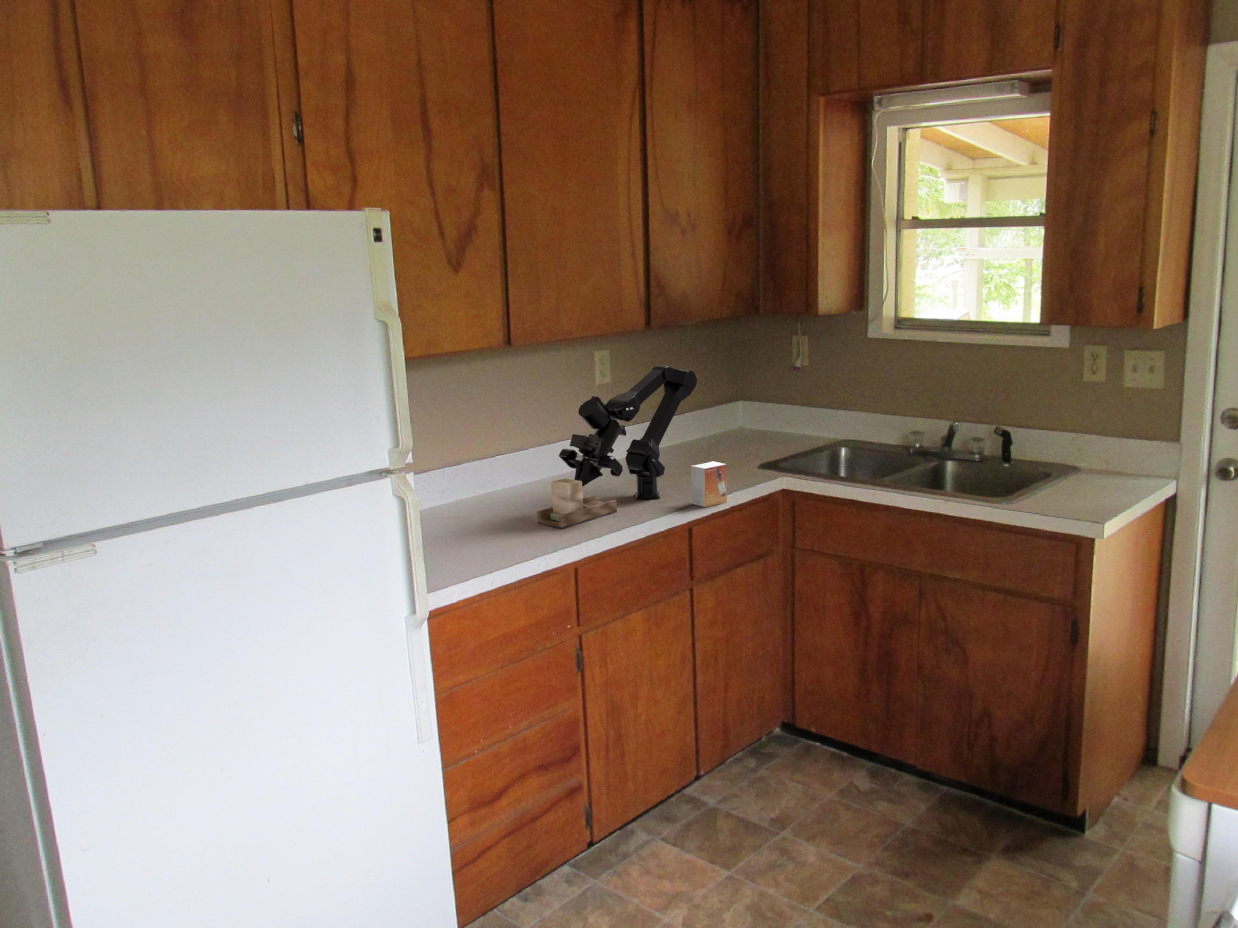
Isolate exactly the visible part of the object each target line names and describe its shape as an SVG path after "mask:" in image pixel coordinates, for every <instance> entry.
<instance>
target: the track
mask: <svg viewBox="0 0 1238 928" xmlns="http://www.w3.org/2000/svg"><path fill="white" fill-rule="evenodd" d="M617 505H618V504H617V499H613V500H608V501H600V500H596V495H589V496H585V497H583V509H581V510H577V511H574V512H571V513H567V514H564V515H562V514H557V513H553V506H550V507H546V508H543V509H540V510H537V512H536V515H537V524H539V525H543V526H547V525H548V527H552V528H556V529H560V530H564V529H567V528H571V527H573V526H576V525H580V524H583V523H587V522H590V521H593V520H596V519H599V518H603V517H606V516H609V515H612V514H615V513H617V512H618V509H617V508H618V507H617Z"/></svg>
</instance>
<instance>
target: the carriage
mask: <svg viewBox="0 0 1238 928" xmlns="http://www.w3.org/2000/svg"><path fill="white" fill-rule="evenodd" d="M550 483H551V484H550V485H551V488H550V489H551V500H552V507H553V513H557V514H562V515H564V514H567V513H571V512H574V511H577V510H581V509H583V498H584V497H583V494H584V493H583V487H582V481H578V480H574V479H573V478H572V479H571V478H568V477H565V478H562V479H557V480H554V481H551V482H550Z"/></svg>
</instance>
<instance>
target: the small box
mask: <svg viewBox="0 0 1238 928" xmlns="http://www.w3.org/2000/svg"><path fill="white" fill-rule="evenodd" d="M727 468H728V467H727V464H726V463H722V462H717V461H713V460H712V461H709V462H705V463H699V464H695V465H690V482H691V484H690V485H691V489H690V491H691V504H692V505H696V506H699V507H704V508H707V507H711V506H715V505H721V504H726V503H727V502H728V489H727V488H728V484H727V483H728V482H727V481H728V480H727V477H728V476H727Z"/></svg>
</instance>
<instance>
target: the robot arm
mask: <svg viewBox="0 0 1238 928" xmlns="http://www.w3.org/2000/svg"><path fill="white" fill-rule="evenodd" d="M697 385H698V378H697V376H696V373H695V372H694V371H693V370H687V369H675V368H673V367H670V366H669V365H656V366H653V367H652V369H651V371H650V372H648V373H647V374H646V375H645V376H644V377H643V378H642V379H640V380H639V381H638V382H637V383H636V384H635V385H633V386H632V387H631V388H630V389H629V390H627V391H626V392H622V393H619V394H616V395H615V396H613V397H611V398H610V399H609V400H608V401H607V403H605V404H604V402H603V400H602V399H601V398H600V397H599V396H596V395H592V396H591V398H590V399H587V400H586V401H584V402H583V403H582V404H581V405H580V406H579V408H578V415H579V416H580V417H581V419H582V420H584V422H585V423H586V424H587V425H588V426H589V427H590V428H591V429H593V430H595V431H594V433H589V434H588V435H582V434H578V433H576V434H575V433H572V434H571V439H570V442H569V446H570V448H562V449H561V450H560V452H559V454H558V457H559V458H560V460H561V461H563V462H564V463H565V464H566V466H568V467H569V468H571V469H575V472H574V473H575V474H574V479H573V480H578V481H582V488H584V487H585V486H586V485H588V484H590V483H591V482H592V481H594V480H596V479H598V478H599V477H603V476H604V473H603V471H604V470H605V469H610V473H609V474H610V475H611V476H612V477H620V476H621V475H622V473H623V470H624V469H623V465H622V463H620V461H619V460H617V458H616V457H615V456H613V455H609V454H613V453H614V450H615V449H614V448H613V446H614V445H615V443H616V441H617V439H618V437H619V436H622V437H623V436H627V430H626V426H625V425H623V424H620V423H619V421H620V422H627V423H628V422H629V423H630V422H631V421H633V420H634V419H635V417H636V416H637V414H638V413H639V412H640V408H641V405H642V404H643V403H644V402H645V401H647V399H648V398H649V397H651V395H653V394H654V393H655V392H656V391H657V390H658V389H659V388H661V386H663V393H664V395H663V397H662V398H661V401H660V403H659V404H658V405H657V409H656V411H655V412H654V414H653V417H652V418H651V420H650V422H649V425H648V426H647V428H646V430H645V432H644V434H643V436H642V437H641V438H640V439H632V440H631V442H630V445H629V447H627V448H628V449H627V450H626V454H625V455H626V456H625V463H626V466H627V468H628V471H629V474H630V475H636V476H635V477H636V491H635V494H634V495H635V499H636V500H650V499H653V500H655V499H661V495H660V491H658V488H659V485H658V478H661V476H664V475H665V469H666V467H665V466H664V464H663V463H661V461H660V460H659V459H660V456H661V455H660V444H661V442H662V440H663V438H664V436H665V434H666V432H667V430H668V428H669V426H670V424H671V422H672V420H673V418H674V416H675V414H676V411H678V409H679V406H680V404H681V402H684V400H686V399H687V398H688V397H690V396H691V394H692V393H693V391H694V390H695V389H696V386H697ZM571 447H573V448H576V449H578V452H579V453H580V454H579V453H578V452H577V451H576V450H575V449H571Z"/></svg>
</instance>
